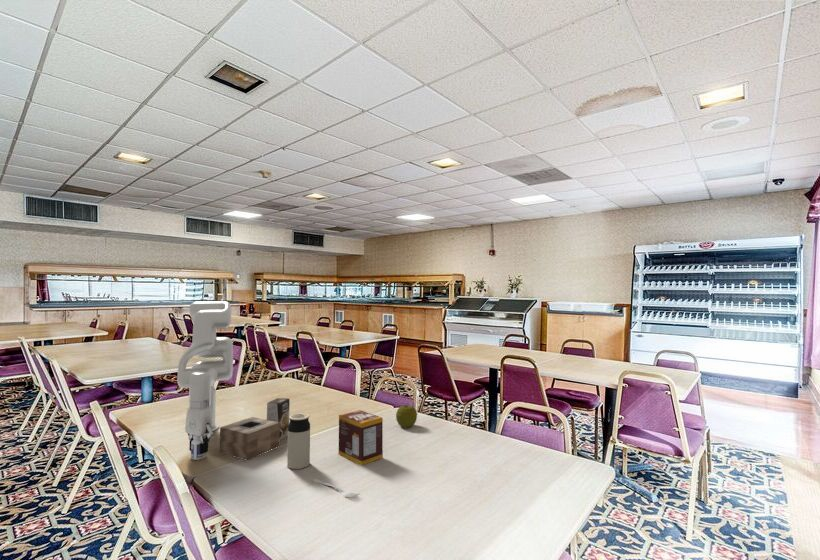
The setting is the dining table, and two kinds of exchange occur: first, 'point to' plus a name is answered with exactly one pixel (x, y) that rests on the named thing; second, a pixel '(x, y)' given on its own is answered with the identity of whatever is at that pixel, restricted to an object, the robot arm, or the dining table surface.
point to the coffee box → (279, 414)
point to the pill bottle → (196, 448)
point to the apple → (406, 416)
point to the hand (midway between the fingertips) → (198, 450)
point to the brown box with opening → (249, 437)
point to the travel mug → (298, 441)
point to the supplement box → (360, 436)
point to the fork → (337, 488)
